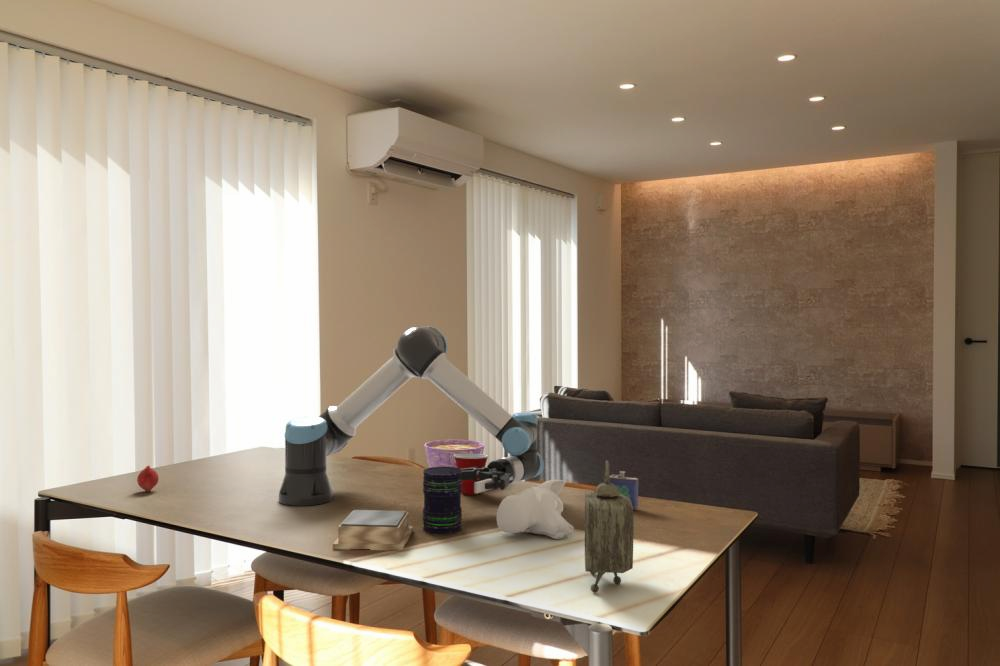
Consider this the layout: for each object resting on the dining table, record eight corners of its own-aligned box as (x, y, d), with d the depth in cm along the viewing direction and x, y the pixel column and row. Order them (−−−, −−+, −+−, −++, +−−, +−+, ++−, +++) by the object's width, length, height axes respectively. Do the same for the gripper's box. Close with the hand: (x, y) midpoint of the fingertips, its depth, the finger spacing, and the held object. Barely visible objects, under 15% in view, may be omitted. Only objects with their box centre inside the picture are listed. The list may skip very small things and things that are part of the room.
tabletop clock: (584, 571, 160) (585, 453, 159) (627, 572, 159) (629, 455, 159) (585, 596, 146) (587, 467, 145) (633, 598, 145) (635, 468, 144)
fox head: (559, 520, 173) (598, 498, 189) (502, 486, 181) (545, 467, 197) (542, 569, 176) (582, 543, 193) (487, 533, 184) (530, 510, 201)
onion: (132, 492, 225) (132, 466, 225) (148, 488, 231) (148, 462, 231) (147, 494, 223) (147, 467, 223) (162, 490, 228) (162, 464, 228)
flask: (638, 509, 212) (639, 471, 212) (636, 511, 210) (637, 473, 210) (606, 506, 216) (607, 468, 216) (604, 508, 213) (604, 470, 213)
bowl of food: (488, 485, 241) (489, 449, 241) (426, 486, 238) (426, 450, 237) (480, 472, 261) (480, 439, 260) (422, 473, 257) (422, 440, 257)
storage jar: (414, 530, 189) (414, 471, 188) (440, 522, 197) (440, 465, 196) (444, 537, 183) (444, 476, 182) (469, 528, 191) (470, 470, 190)
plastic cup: (490, 489, 235) (490, 451, 234) (486, 497, 224) (486, 457, 224) (455, 488, 236) (456, 450, 235) (450, 496, 225) (450, 456, 225)
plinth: (332, 549, 173) (332, 525, 173) (349, 529, 189) (349, 508, 189) (401, 550, 172) (402, 527, 172) (413, 531, 188) (413, 509, 188)
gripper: (540, 491, 206) (492, 506, 189) (470, 478, 221) (420, 491, 204) (540, 464, 206) (493, 476, 189) (470, 453, 221) (420, 463, 204)
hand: (455, 484), depth 196 cm, fingers open, 13 cm apart
